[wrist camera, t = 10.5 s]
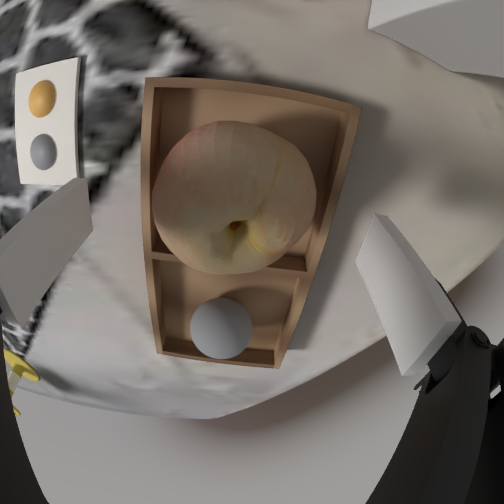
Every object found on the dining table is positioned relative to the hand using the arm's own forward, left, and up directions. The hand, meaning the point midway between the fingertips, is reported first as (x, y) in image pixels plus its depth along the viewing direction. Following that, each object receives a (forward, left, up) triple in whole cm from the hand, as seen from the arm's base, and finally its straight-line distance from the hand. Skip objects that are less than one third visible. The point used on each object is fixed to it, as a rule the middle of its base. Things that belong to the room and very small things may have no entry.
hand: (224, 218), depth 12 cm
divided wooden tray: (+6, 0, -7) cm, 10 cm away
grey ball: (+12, 0, -7) cm, 14 cm away
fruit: (0, 0, -7) cm, 7 cm away
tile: (-3, -16, -7) cm, 18 cm away
